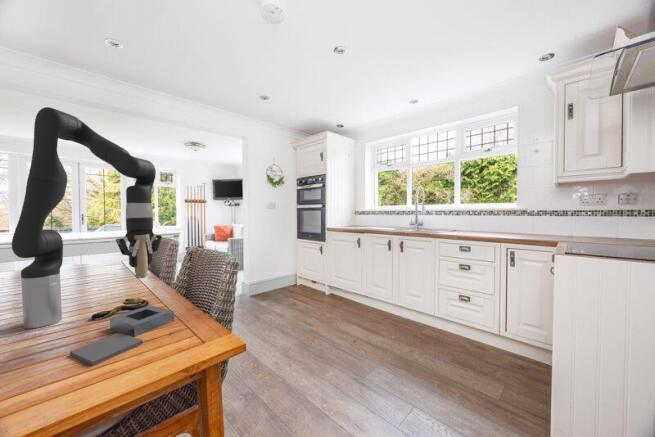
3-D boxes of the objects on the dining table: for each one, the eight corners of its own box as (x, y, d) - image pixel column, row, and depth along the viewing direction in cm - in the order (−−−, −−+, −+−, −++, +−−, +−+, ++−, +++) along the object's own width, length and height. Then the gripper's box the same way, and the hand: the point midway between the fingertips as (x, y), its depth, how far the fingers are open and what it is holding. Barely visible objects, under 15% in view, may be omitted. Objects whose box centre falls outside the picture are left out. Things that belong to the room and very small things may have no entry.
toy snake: (91, 308, 93) (90, 303, 100) (91, 321, 92) (90, 315, 100) (151, 298, 105) (146, 294, 112) (151, 309, 105) (146, 305, 112)
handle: (134, 280, 86) (133, 235, 85) (130, 277, 90) (129, 234, 90) (151, 277, 89) (150, 234, 89) (147, 274, 94) (146, 233, 93)
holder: (110, 328, 87) (109, 318, 87) (150, 314, 99) (149, 305, 99) (134, 336, 81) (134, 325, 81) (174, 320, 93) (173, 310, 93)
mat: (70, 355, 71) (70, 351, 71) (120, 335, 82) (119, 332, 82) (92, 365, 66) (92, 361, 66) (142, 343, 77) (142, 340, 77)
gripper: (154, 215, 97) (155, 261, 97) (109, 216, 84) (110, 269, 85) (166, 216, 94) (168, 262, 94) (122, 217, 81) (123, 271, 81)
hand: (140, 265), depth 89 cm, fingers closed on handle, 4 cm apart
